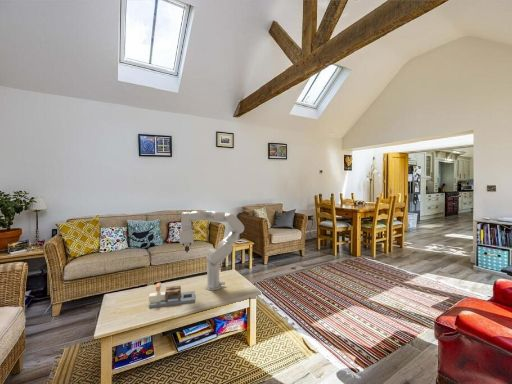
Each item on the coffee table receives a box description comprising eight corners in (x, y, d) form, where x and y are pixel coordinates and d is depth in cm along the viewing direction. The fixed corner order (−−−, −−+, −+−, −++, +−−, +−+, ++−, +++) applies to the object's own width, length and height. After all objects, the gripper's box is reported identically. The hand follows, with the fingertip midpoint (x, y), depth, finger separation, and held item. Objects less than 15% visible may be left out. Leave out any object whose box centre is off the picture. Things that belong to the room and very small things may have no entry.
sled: (168, 296, 179) (167, 281, 179) (167, 300, 172) (166, 285, 172) (150, 298, 176) (150, 283, 176) (148, 302, 169) (148, 287, 169)
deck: (194, 293, 188) (194, 290, 187) (194, 302, 174) (194, 299, 174) (152, 298, 180) (152, 295, 180) (149, 308, 166) (149, 305, 166)
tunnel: (180, 294, 182) (180, 285, 182) (180, 299, 174) (180, 290, 174) (166, 295, 180) (166, 287, 180) (165, 301, 171) (165, 292, 171)
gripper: (196, 226, 194) (196, 249, 194) (176, 227, 190) (177, 251, 191) (196, 228, 186) (197, 252, 187) (175, 229, 183) (176, 253, 183)
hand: (187, 251), depth 189 cm, fingers closed
